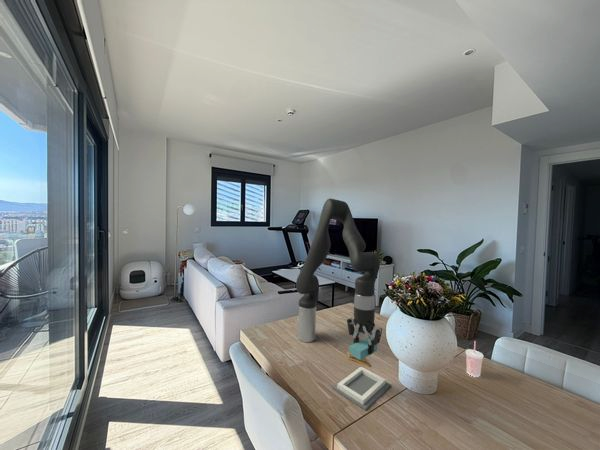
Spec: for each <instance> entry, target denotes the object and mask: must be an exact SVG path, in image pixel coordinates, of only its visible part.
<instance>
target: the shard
mask: <svg viewBox="0 0 600 450" xmlns="http://www.w3.org/2000/svg"><path fill="white" fill-rule="evenodd" d="M347 355H348V357H347V360H349V361H354V362H356V363H357V364H360V365H363V366H366V367H370V366H371V363H370V362H369V361H368V360H367V357H365V358H363V359H361V360H359V359H358V358H356V357H354V356H352V355H351V354H349V351H347Z"/></svg>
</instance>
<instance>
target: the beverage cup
mask: <svg viewBox="0 0 600 450" xmlns="http://www.w3.org/2000/svg"><path fill="white" fill-rule="evenodd" d="M476 343H477V341H476V340H474V344H473V349H471V348H466V349H465V355H466V361H465V362H466V374H467V373H468V374H469V375H468V374H467V375H468V376H470V375H471V376H470V377H472V376H473V377H472V378H475V377H479V376H480V377H481V373H482V372H481V371H482V365H483V364H482V363H483V359H484V354H483V353H482V352H480V351H477V350H476ZM480 377H479V378H480Z"/></svg>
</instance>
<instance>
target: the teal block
mask: <svg viewBox="0 0 600 450" xmlns="http://www.w3.org/2000/svg"><path fill="white" fill-rule="evenodd" d="M368 344H369V343H368V340H367V338H366V337H365V338H363V339H361V340H359V342H357V343H355V344H353V343H352V344H350V345H348V346H349V354H351V355H352V356H354V357H356V358H358V359H359V360H361V359H363V358H367V357H369V356H370V355H369V354H368ZM376 352H378V344H377V345H374V352H373V353H372V354H374V353H376Z"/></svg>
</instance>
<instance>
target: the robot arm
mask: <svg viewBox="0 0 600 450" xmlns="http://www.w3.org/2000/svg"><path fill="white" fill-rule="evenodd" d="M331 220H334V221H339V222H340V223H342V225H343V230H342V239H343V241H344V244H345V245H346V248H347V251H348V256H349V260H350V261H349V262H350V266H351V268H352V269H353V270H354V271H355V272H359V273H362V272H364V273H363V275H361V276H359V277H357V278H355V283H354V298H353V317H354V318H353V317H350V318H348V319H346V323H347V330H348V335H349V336H351V337H352V338H353V343H352V344H355V343H357V342H359V341H360V334H363V335H365V338H367V340H368V343H369V344H368V354H369V356H371V355H372V354H374V353H375V352H374V345H377V346H378V344H379V343H380V340H381V337H382V334H383V328H382V327H378V326H376V323H375V316H376V315H375V314H376V313H375V311H376V308H375V307H376V306H375V305H376V298H375V284H376V281H377V278H378V274H379V272H380V268H381V267H380V266H381V259H380V256H379V255H378V254H377V253H376V252H373V251H366V252H364V251H365V250H366V247H367V246H366V245H367V244H366V242H365V240H364V239H363V237H362V235H361V233H360V232H359V230H358V228H357V225H356V224H355V220H354V217H353V215H352V212H351V209H350V206H349V205H348V203H347V202H345V201H343V200H339V199H336V198H327V199H326V200H325V202H324V204H323V207H322V209H321V213H320V217H319V221H318V224H317V228H316V231H315V233H314V237H313V239H312V242H311V244H310V247H309V250H308V253H307V256H306V258H305V262H304V264H303V266H302V268H301V271H300V272H299V274H298V276H297V278H296V282H295V289H296V291H297V293H299V294H301V295H302V297H300V298H299V299H298V315H297V316H298V317H297V318H296V335H295V336H296V337H297V339H298V340H299V341H300V342H303V343H311V342H314V341H315V340H316V329H317V327H316V326H317V325H316V324H317V303H318V301H319V292H320V282H319V279H318V277H317V276H316V275H315V273H316V271H317V270H318V269H319V267H320V266H321V265H322V264H323V263H324V262H325V261H326V259H327V257H328V254H329V252H330V249H331V246H332V245H331V238H330V234H329V228H330V227H329V225H330V222H331ZM373 330H374V331H373ZM373 352H374V353H373Z"/></svg>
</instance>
